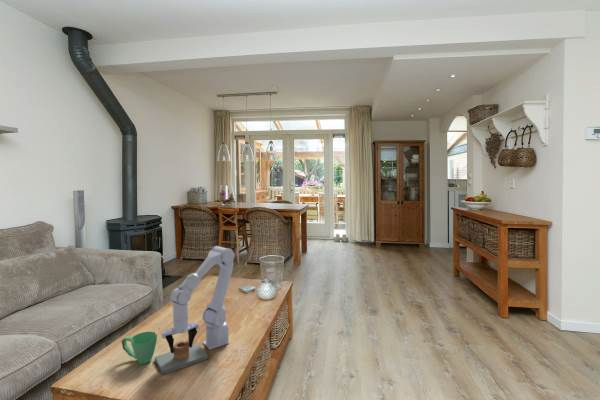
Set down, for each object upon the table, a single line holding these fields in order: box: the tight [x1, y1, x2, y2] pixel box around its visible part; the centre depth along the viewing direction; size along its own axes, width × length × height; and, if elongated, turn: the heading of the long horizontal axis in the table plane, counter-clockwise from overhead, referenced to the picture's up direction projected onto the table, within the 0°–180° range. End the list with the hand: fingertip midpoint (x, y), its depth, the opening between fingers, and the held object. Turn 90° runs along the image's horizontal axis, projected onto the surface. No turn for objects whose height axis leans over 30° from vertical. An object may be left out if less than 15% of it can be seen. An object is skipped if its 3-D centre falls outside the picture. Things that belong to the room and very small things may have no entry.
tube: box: [173, 340, 189, 360], centre depth 134 cm, size 6×6×5 cm
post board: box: [154, 343, 209, 375], centre depth 134 cm, size 18×12×5 cm, turn 127°
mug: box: [121, 331, 158, 365], centre depth 133 cm, size 15×10×10 cm
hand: (181, 349), depth 134 cm, fingers open, 7 cm apart
